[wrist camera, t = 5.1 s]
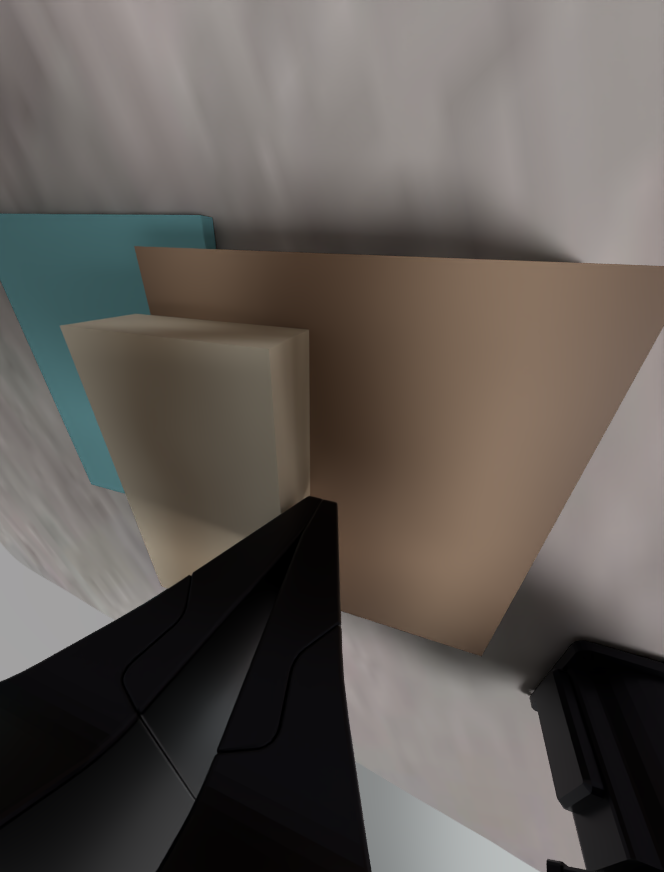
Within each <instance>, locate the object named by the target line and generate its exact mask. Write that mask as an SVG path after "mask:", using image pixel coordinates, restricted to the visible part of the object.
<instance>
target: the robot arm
mask: <svg viewBox="0 0 664 872" xmlns="http://www.w3.org/2000/svg"><path fill="white" fill-rule="evenodd" d="M530 702H531V707H532V708H533V709H534V710H535V711H537V712H538V715H539V719H540V724H541V728H542V733H543V737H544V742H545V746H546V751H547V755H548V760H549V764H550V768H551V773H552V777H553V782H554V786H555V791H556V795H557V799H558V800H559V802H560V803H561V805H562V807H563V808H564V809H566V810H568V811H571V812H572V814H573V818H574V822H575V826H576V830H577V834H578V838H579V842H580V846H581V850H582V854H583V859H584V863H585V867H586V870H584V869H579V868H573V867H568V866H567V865H566V864H564V863H563V862H561V861H555V860H550V859H547V872H664V663H661V662H657V661H654V660H650V659H647V658H643V657H640V656H636V655H633V654H630V653H626V652H623V651H619V650H616V649H612V648H609V647H606V646H602V645H599V644H595V643H592V642H588V641H577V642H575V643H573V644H572V645H571V646H570V648H569V649H568V650H567V651H566V653H565V654H564V655H563V656H562V657H561V659H560V660H559V661H558V662H557V664H556V665H555V666H554V667H553V669H552V670H551V671H550V672H549V674H548V675H547V676H546V677H545V678H544V680H543V681H542V682H541V683H540V685H539V686H538V687H537V688H536V690H535V691H534V692H533V693H532V695H531V696H530ZM0 872H371V865H370V859H369V853H368V847H367V840H366V833H365V826H364V820H363V813H362V806H361V799H360V792H359V785H358V779H357V772H356V765H355V758H354V751H353V744H352V738H351V731H350V724H349V717H348V709H347V700H346V692H345V684H344V672H343V655H342V629H341V600H340V565H339V530H338V504H337V502H334V501H330V500H326V499H324V500H323V499H321V498H318V497H313V496H307V497H306V498H304V499H303V500H301V501H300V502H298V503H297V504H295V505H294V506H292V507H291V508H289V509H288V510H286V511H285V512H283V513H282V514H280V515H279V516H277V517H276V518H274V519H273V520H271V521H269V522H268V523H266V524H265V525H263V526H262V527H260V528H259V529H257V530H256V531H254V532H253V533H251V534H250V535H248V536H247V537H245V538H244V539H242V540H241V541H239V542H238V543H236V544H235V545H233V546H232V547H230V548H229V549H227V550H226V551H224V552H223V553H221V554H220V555H218V556H217V557H215V558H214V559H212V560H211V561H209V562H208V563H206V564H205V565H203V566H202V567H200V568H199V569H197V570H196V571H194V572H193V573H192V576H191V575H188V576H186V577H185V578H183V579H182V580H180V581H179V582H177V583H176V584H174V585H173V586H171V587H170V588H168V589H167V590H165V591H163V592H162V593H160V594H159V595H157V596H155V597H154V598H152V599H151V600H149V601H148V602H146V603H144V604H143V605H141V606H139V607H137V608H136V609H134V610H132V611H130V612H129V613H127V614H125V615H124V616H122V617H120V618H118V619H117V620H115V621H113V622H111V623H110V624H108V625H106V626H104V627H102V628H101V629H99V630H97V631H95V632H93V633H92V634H90V635H88V636H86V637H85V638H83V639H81V640H79V641H78V642H76V643H74V644H72V645H70V646H68V647H67V648H65V649H63V650H61V651H59V652H58V653H56V654H54V655H52V656H51V657H49V658H47V659H45V660H43V661H42V662H40V663H38V664H36V665H34V666H32V667H30V668H29V669H27V670H25V671H23V672H21V673H19V674H16V675H14V676H12V677H10V678H8V679H6V680H3V681H1V682H0Z"/></svg>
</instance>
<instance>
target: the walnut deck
mask: <svg viewBox="0 0 664 872" xmlns="http://www.w3.org/2000/svg"><path fill="white" fill-rule="evenodd" d="M134 248H135V252H136V256H137V260H138V264H139V269H140V273H141V277H142V281H143V285H144V289H145V293H146V298H147V302H148V306H149V310H150V314H151V315H155V316H166V317H177V318H188V319H199V320H210V321H221V322H232V323H243V324H254V325H264V326H275V327H286V328H297V329H308V330H309V396H310V496H313V497H318V498H321V499H323V500H324V499H326V500H330V501H334V502H337V504H338V530H339V565H340V600H341V611H343V612H346V613H349V614H352V615H355V616H358V617H361V618H365V619H368V620H371V621H374V622H377V623H380V624H383V625H386V626H389V627H392V628H395V629H398V630H402V631H405V632H408V633H411V634H414V635H417V636H420V637H423V638H426V639H429V640H432V641H435V642H439V643H442V644H445V645H448V646H451V647H454V648H457V649H460V650H463V651H466V652H469V653H472V654H476V655H479V656H482V654H483V653H484V651H485V649H486V647H487V645H488V643H489V642H490V640H491V638H492V636H493V634H494V633H495V631H496V629H497V627H498V625H499V624H500V622H501V620H502V618H503V616H504V614H505V613H506V611H507V609H508V607H509V605H510V604H511V602H512V600H513V598H514V596H515V595H516V593H517V591H518V589H519V587H520V585H521V584H522V582H523V580H524V578H525V576H526V575H527V573H528V571H529V569H530V567H531V566H532V564H533V562H534V560H535V558H536V556H537V555H538V553H539V551H540V549H541V547H542V546H543V544H544V542H545V540H546V538H547V537H548V535H549V533H550V531H551V529H552V527H553V526H554V524H555V522H556V520H557V518H558V517H559V515H560V513H561V511H562V509H563V508H564V506H565V504H566V502H567V500H568V498H569V497H570V495H571V493H572V491H573V489H574V488H575V486H576V484H577V482H578V480H579V479H580V477H581V475H582V473H583V471H584V469H585V468H586V466H587V464H588V462H589V460H590V459H591V457H592V455H593V453H594V451H595V450H596V448H597V446H598V444H599V442H600V440H601V439H602V437H603V435H604V433H605V431H606V430H607V428H608V426H609V424H610V422H611V421H612V419H613V417H614V415H615V413H616V411H617V410H618V408H619V406H620V404H621V402H622V401H623V399H624V397H625V395H626V393H627V391H628V390H629V388H630V386H631V384H632V382H633V381H634V379H635V377H636V375H637V373H638V372H639V370H640V368H641V366H642V364H643V362H644V361H645V359H646V357H647V355H648V353H649V352H650V350H651V348H652V346H653V344H654V343H655V341H656V339H657V337H658V335H659V333H660V332H661V330H662V328H663V326H664V266H647V265H620V264H594V263H567V262H541V261H514V260H488V259H461V258H434V257H408V256H381V255H355V254H328V253H302V252H275V251H248V250H222V249H195V248H169V247H142V246H134Z"/></svg>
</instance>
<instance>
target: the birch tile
mask: <svg viewBox="0 0 664 872" xmlns="http://www.w3.org/2000/svg"><path fill="white" fill-rule="evenodd" d="M60 328H61V331H62V333H63V336H64V338H65V341H66V343H67V346H68V349H69V351H70V354H71V356H72V359H73V361H74V364H75V366H76V369H77V372H78V374H79V377H80V379H81V382H82V384H83V387H84V389H85V392H86V395H87V397H88V400H89V402H90V405H91V407H92V410H93V412H94V415H95V418H96V420H97V423H98V425H99V428H100V430H101V433H102V435H103V438H104V441H105V443H106V446H107V448H108V451H109V453H110V456H111V458H112V461H113V464H114V466H115V469H116V471H117V474H118V476H119V479H120V481H121V484H122V487H123V489H124V492H125V494H126V497H127V499H128V502H129V504H130V507H131V510H132V512H133V515H134V517H135V520H136V522H137V525H138V528H139V530H140V533H141V535H142V538H143V540H144V543H145V545H146V548H147V551H148V553H149V556H150V558H151V561H152V563H153V566H154V568H155V571H156V574H157V576H158V579H159V581H160V584H161V586H162V587H165V588H170V587H171V586H173V585H174V584H176V583H177V582H179V581H180V580H182V579H183V578H185V577H186V576H188V575H191V576H192V573H193V572H194V571H196V570H197V569H199V568H200V567H202V566H203V565H205V564H206V563H208V562H209V561H211V560H212V559H214V558H215V557H217V556H218V555H220V554H221V553H223V552H224V551H226V550H227V549H229V548H230V547H232V546H233V545H235V544H236V543H238V542H239V541H241V540H242V539H244V538H245V537H247V536H248V535H250V534H251V533H253V532H254V531H256V530H257V529H259V528H260V527H262V526H263V525H265V524H266V523H268V522H269V521H271V520H273V519H274V518H276V517H277V516H279V515H280V514H282V513H283V512H285V511H286V510H288V509H289V508H291V507H292V506H294V505H295V504H297V503H298V502H300V501H301V500H303V499H304V498H306V497H307V496H310V396H309V330H308V329H297V328H286V327H275V326H264V325H254V324H243V323H232V322H221V321H210V320H199V319H188V318H177V317H166V316H155V315H144V314H131V315H125V316H119V317H112V318H106V319H99V320H93V321H87V322H80V323H74V324H67V325H61V326H60Z"/></svg>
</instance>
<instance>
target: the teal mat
mask: <svg viewBox="0 0 664 872" xmlns="http://www.w3.org/2000/svg"><path fill="white" fill-rule="evenodd" d="M134 246H142V247H169V248H195V249H216V243H215V235H214V227H213V219H212V217H207V216H203V215H117V214H0V281H1V283H2V285H3V287H4V290H5V292H6V294H7V296H8V299H9V301H10V303H11V305H12V308H13V310H14V312H15V314H16V317H17V319H18V321H19V323H20V326H21V328H22V330H23V332H24V334H25V337H26V339H27V341H28V343H29V346H30V348H31V350H32V352H33V355H34V357H35V359H36V361H37V364H38V366H39V368H40V370H41V372H42V375H43V377H44V379H45V381H46V384H47V386H48V388H49V390H50V393H51V395H52V397H53V399H54V402H55V404H56V406H57V408H58V411H59V413H60V415H61V417H62V419H63V422H64V424H65V426H66V428H67V431H68V433H69V435H70V437H71V440H72V442H73V444H74V446H75V449H76V451H77V453H78V455H79V458H80V460H81V462H82V464H83V466H84V469H85V471H86V473H87V475H88V478H89V480H90V482H91V484H92V485H96V486H99V487H103V488H107V489H110V490H114V491H117V492H121V493H125V492H124V489H123V487H122V484H121V481H120V479H119V476H118V474H117V471H116V469H115V466H114V464H113V461H112V458H111V456H110V453H109V451H108V448H107V446H106V443H105V441H104V438H103V435H102V433H101V430H100V428H99V425H98V423H97V420H96V418H95V415H94V412H93V410H92V407H91V405H90V402H89V400H88V397H87V395H86V392H85V389H84V387H83V384H82V382H81V379H80V377H79V374H78V372H77V369H76V366H75V364H74V361H73V359H72V356H71V354H70V351H69V349H68V346H67V343H66V341H65V338H64V336H63V333H62V331H61V328H60V326H61V325H67V324H74V323H80V322H87V321H93V320H99V319H106V318H112V317H119V316H125V315H131V314H144V315H151V314H150V310H149V306H148V302H147V298H146V293H145V289H144V285H143V281H142V277H141V273H140V269H139V264H138V260H137V256H136V252H135V248H134Z"/></svg>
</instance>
